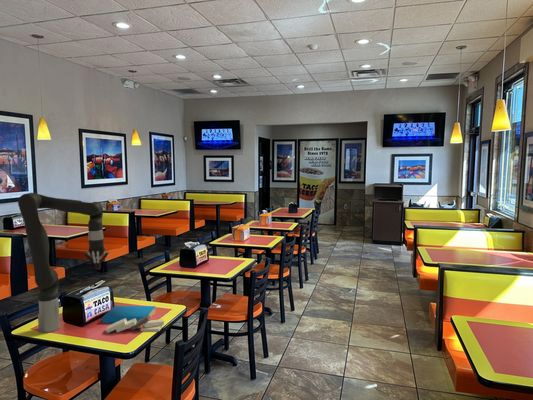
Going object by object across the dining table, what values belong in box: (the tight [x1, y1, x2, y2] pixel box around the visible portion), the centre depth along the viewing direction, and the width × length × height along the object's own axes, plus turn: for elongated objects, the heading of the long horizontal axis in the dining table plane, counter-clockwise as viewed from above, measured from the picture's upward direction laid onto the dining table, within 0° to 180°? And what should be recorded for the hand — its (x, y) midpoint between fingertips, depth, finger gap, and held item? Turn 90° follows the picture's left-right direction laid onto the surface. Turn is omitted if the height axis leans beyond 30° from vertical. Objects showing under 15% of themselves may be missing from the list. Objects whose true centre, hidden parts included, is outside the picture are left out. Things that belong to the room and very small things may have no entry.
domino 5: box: [140, 324, 163, 332], centre depth 202 cm, size 2×5×10 cm
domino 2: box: [115, 318, 137, 333], centre depth 202 cm, size 2×5×10 cm
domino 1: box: [105, 318, 127, 334], centre depth 201 cm, size 2×5×10 cm
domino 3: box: [130, 314, 151, 331], centre depth 203 cm, size 2×5×10 cm
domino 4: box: [143, 318, 165, 327], centre depth 205 cm, size 2×5×10 cm
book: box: [102, 305, 156, 324], centre depth 219 cm, size 17×4×25 cm
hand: (97, 269), depth 205 cm, fingers closed
